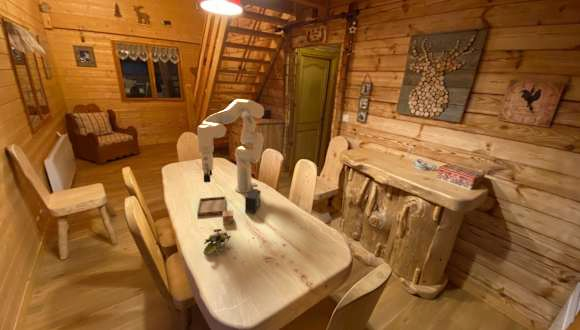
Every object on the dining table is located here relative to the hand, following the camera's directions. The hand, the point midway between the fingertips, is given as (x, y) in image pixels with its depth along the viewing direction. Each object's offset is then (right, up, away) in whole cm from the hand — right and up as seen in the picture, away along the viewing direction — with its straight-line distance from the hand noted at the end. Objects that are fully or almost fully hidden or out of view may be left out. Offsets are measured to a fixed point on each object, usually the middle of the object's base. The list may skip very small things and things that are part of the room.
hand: (208, 178), depth 131 cm
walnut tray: (-2, -18, +13) cm, 23 cm away
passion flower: (+12, -32, -21) cm, 40 cm away
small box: (+23, -20, +14) cm, 33 cm away
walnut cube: (+11, -24, 0) cm, 27 cm away
